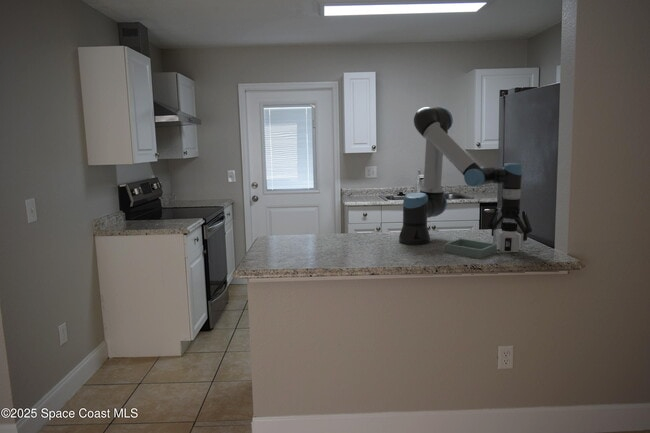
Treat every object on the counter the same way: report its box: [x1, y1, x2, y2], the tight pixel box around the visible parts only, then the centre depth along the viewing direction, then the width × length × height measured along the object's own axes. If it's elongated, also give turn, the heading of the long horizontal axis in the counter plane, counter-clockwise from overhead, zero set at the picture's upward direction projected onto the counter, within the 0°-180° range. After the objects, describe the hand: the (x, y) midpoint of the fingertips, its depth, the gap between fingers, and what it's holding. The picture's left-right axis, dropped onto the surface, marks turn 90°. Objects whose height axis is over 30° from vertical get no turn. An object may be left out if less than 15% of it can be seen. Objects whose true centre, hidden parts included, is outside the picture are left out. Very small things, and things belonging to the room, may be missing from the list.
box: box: [443, 238, 498, 259], centre depth 224 cm, size 18×15×4 cm
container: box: [497, 221, 521, 253], centre depth 225 cm, size 8×8×13 cm
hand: (508, 245), depth 226 cm, fingers open, 12 cm apart
